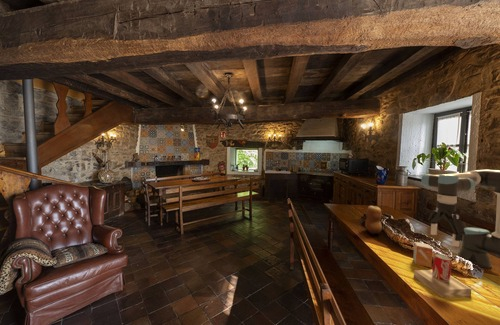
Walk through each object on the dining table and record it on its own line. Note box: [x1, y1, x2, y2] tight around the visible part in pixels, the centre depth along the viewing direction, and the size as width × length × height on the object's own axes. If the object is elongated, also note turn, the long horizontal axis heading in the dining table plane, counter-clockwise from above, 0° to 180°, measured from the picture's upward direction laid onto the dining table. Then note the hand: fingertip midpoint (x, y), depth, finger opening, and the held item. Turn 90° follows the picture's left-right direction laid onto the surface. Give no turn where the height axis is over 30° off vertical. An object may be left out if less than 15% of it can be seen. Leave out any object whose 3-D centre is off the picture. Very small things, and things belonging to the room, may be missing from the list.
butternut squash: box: [364, 205, 383, 235], centre depth 176 cm, size 14×13×25 cm
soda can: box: [432, 253, 452, 282], centre depth 106 cm, size 7×7×13 cm
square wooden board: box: [413, 269, 472, 298], centre depth 107 cm, size 16×16×4 cm
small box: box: [412, 241, 434, 269], centre depth 128 cm, size 8×6×13 cm
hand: (443, 240), depth 105 cm, fingers open, 13 cm apart
